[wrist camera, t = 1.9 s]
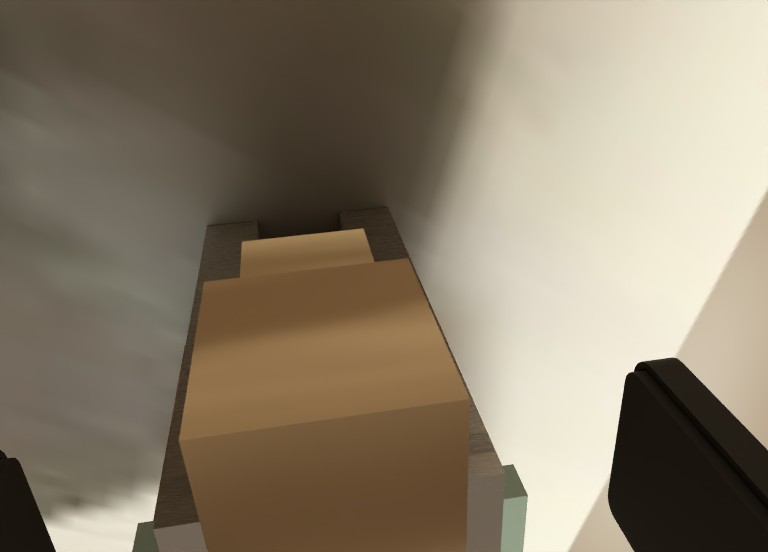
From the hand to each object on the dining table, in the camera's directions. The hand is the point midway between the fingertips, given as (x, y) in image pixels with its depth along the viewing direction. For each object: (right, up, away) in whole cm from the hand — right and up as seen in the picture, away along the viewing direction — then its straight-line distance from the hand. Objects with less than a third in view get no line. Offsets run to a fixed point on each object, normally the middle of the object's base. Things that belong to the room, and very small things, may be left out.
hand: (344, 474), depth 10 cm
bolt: (-1, -2, +6) cm, 6 cm away
